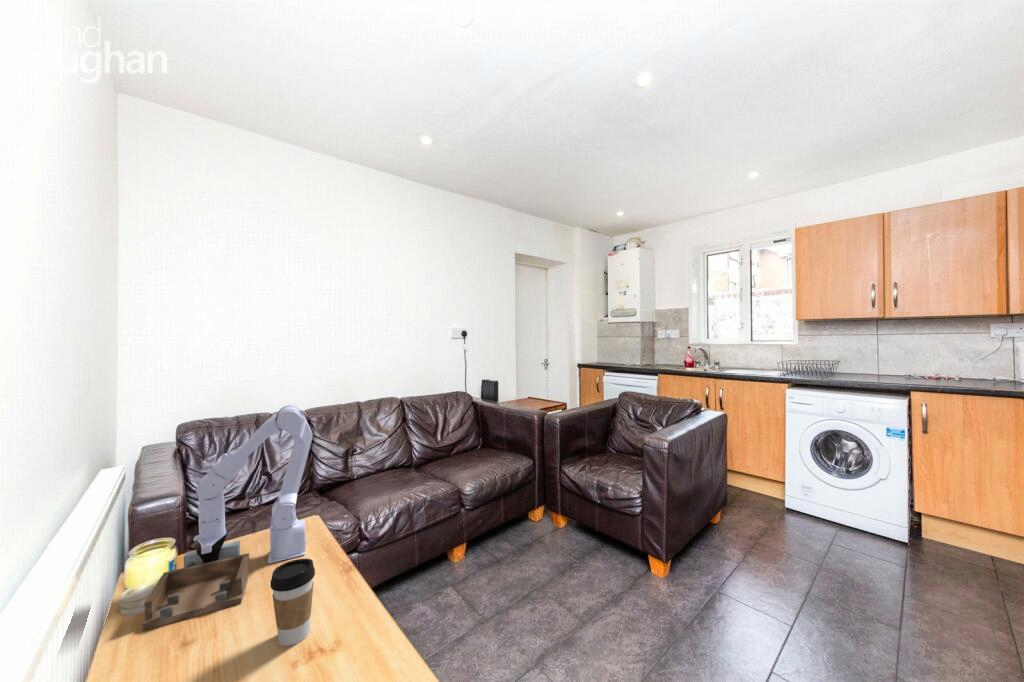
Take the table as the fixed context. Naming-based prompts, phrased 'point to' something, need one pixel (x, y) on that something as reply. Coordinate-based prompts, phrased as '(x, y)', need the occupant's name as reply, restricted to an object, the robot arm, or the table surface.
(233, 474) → the robot arm
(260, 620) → the table surface
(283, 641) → the coffee cup
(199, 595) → the cabinet
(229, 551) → the door
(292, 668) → the table surface
